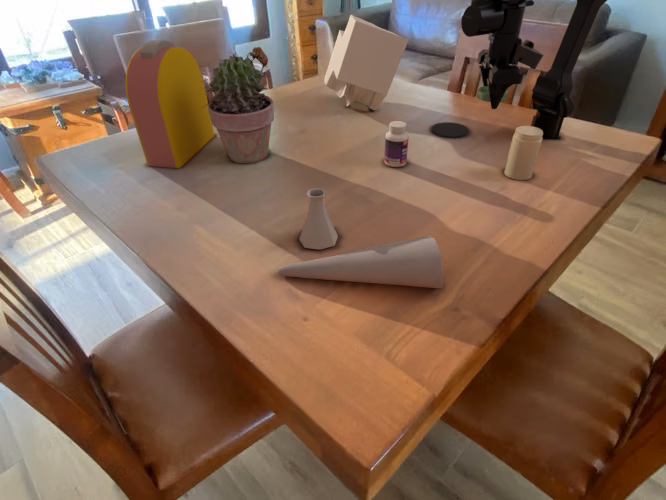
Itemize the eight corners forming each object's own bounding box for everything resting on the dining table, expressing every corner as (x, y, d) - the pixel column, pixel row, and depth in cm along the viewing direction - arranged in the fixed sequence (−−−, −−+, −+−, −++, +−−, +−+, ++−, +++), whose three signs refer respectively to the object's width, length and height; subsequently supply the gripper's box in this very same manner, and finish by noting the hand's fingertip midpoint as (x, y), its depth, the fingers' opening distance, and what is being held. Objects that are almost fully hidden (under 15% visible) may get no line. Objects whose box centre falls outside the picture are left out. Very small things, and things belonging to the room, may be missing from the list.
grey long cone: (268, 285, 63) (444, 261, 62) (272, 249, 70) (431, 226, 68) (280, 320, 68) (443, 299, 66) (283, 283, 75) (431, 263, 73)
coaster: (465, 124, 122) (466, 122, 122) (470, 138, 114) (470, 136, 114) (430, 123, 123) (430, 122, 123) (432, 137, 116) (432, 135, 115)
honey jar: (526, 167, 100) (538, 124, 94) (535, 180, 96) (548, 135, 89) (500, 168, 101) (511, 125, 94) (508, 180, 96) (520, 136, 89)
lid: (503, 92, 102) (504, 85, 101) (508, 102, 97) (510, 95, 96) (474, 92, 103) (475, 85, 102) (478, 101, 98) (480, 94, 97)
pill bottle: (405, 168, 102) (409, 129, 96) (382, 166, 102) (384, 127, 97) (407, 158, 106) (410, 120, 100) (385, 157, 107) (387, 119, 101)
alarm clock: (186, 132, 122) (161, 31, 106) (215, 134, 121) (194, 31, 105) (146, 165, 106) (109, 51, 90) (179, 168, 104) (148, 52, 88)
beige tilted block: (320, 88, 143) (345, 7, 129) (364, 101, 147) (393, 25, 133) (326, 110, 127) (355, 20, 113) (375, 124, 132) (408, 39, 118)
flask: (299, 229, 82) (295, 183, 76) (336, 226, 83) (335, 181, 77) (299, 252, 77) (295, 204, 71) (339, 249, 77) (339, 201, 71)
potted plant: (192, 158, 108) (167, 53, 93) (253, 135, 120) (239, 37, 104) (235, 181, 99) (215, 67, 83) (297, 153, 110) (289, 48, 94)
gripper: (559, 40, 83) (537, 119, 93) (533, 22, 98) (516, 91, 107) (500, 41, 84) (485, 118, 94) (483, 23, 99) (471, 91, 108)
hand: (491, 104), depth 101 cm, fingers closed on lid, 6 cm apart
